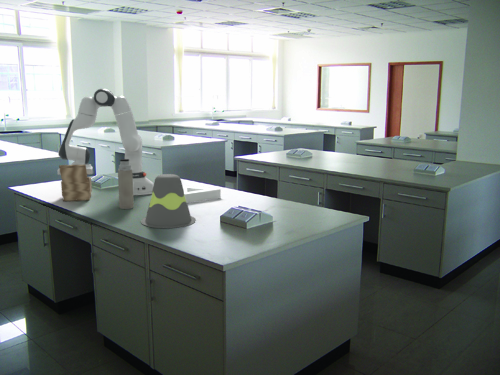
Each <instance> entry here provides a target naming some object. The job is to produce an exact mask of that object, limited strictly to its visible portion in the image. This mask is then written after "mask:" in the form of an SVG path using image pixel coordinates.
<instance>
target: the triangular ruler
mask: <svg viewBox="0 0 500 375" xmlns="http://www.w3.org/2000/svg"><path fill="white" fill-rule="evenodd" d="M182 186H183V190H184V196H185V199H186V203H187V204H190V203H191V204H193V203H197V202H204V201H210V200H216V199H217V200H218V199H221V197H222V196H221V193H222V192H221V190H222V189H221V188H210V187H202V186H201V187H199V186H190V185H188V186H187V185H182Z"/></svg>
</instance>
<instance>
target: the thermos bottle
mask: <svg viewBox="0 0 500 375" xmlns="http://www.w3.org/2000/svg"><path fill="white" fill-rule="evenodd" d="M119 161H120V162H119V163H120V164H119V165H118V169H117V182H118V183H117V184H118V204H119V209H122V210H130V209H133V208H134V206H135V205H134V204H135V202H134V195H133V174H132V169H131V165H130V164H129V159H125V158H122V159H119Z"/></svg>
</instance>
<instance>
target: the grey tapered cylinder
mask: <svg viewBox="0 0 500 375" xmlns="http://www.w3.org/2000/svg"><path fill="white" fill-rule="evenodd" d="M153 184H154V186H153V190H152V194H151V197H150V202H149V204H148V207H147V208H148V209H147V213H146V216H145V217H144V218H142V219H141V221H140V223H141V225H143V226H144V227H149V228H153V229H154V228H155V229H177V228H184V227H187V226H191V225H193V224H195V223H196V222H197V220H196V217H194V216H192V215H191V213H190V209H189V205H188V204H189V203H186V199H185V196H184V190H183V186H184V185H183V183H182V179H181V176H179V175H177V174H173V173H164V174H160V175H157V176H156V177H155V179H154V182H153ZM195 221H196V222H195Z"/></svg>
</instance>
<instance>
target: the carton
mask: <svg viewBox="0 0 500 375" xmlns="http://www.w3.org/2000/svg"><path fill="white" fill-rule="evenodd" d="M87 178H88V182H62V180H61V181H60V185H61V186H60V187H61V197H62V199H63V201H62V202H79V201H90V200H91V197H92V192H93V189H92V188H93V186H92V177H91V176H87Z"/></svg>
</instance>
